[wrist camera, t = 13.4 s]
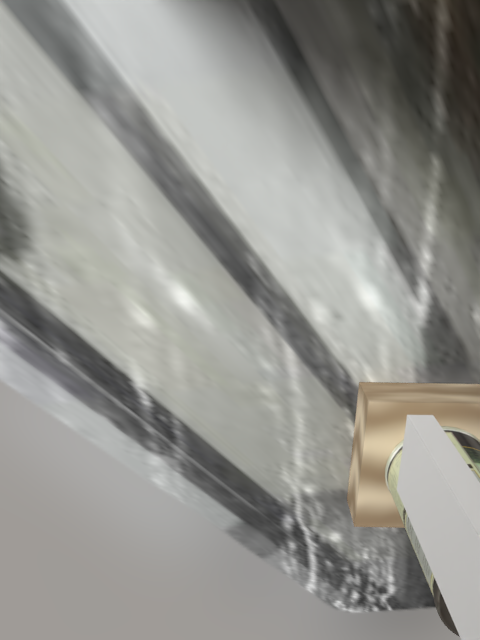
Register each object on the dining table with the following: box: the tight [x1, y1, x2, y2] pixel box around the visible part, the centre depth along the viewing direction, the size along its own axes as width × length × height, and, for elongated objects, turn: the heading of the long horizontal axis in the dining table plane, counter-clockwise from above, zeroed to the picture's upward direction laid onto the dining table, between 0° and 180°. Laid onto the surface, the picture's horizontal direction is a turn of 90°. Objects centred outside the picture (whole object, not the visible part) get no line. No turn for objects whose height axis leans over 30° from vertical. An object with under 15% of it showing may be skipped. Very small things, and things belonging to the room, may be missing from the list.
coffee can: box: [385, 426, 480, 637], centre depth 39 cm, size 10×10×14 cm
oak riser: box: [347, 382, 480, 528], centre depth 48 cm, size 15×15×4 cm
